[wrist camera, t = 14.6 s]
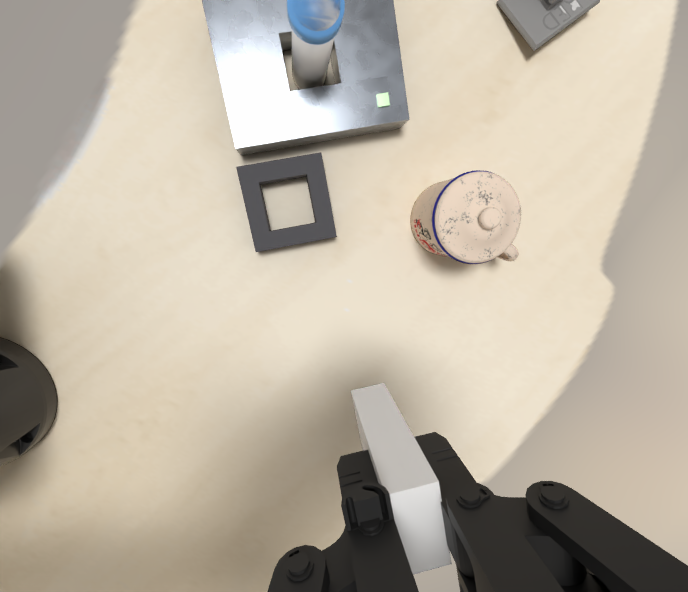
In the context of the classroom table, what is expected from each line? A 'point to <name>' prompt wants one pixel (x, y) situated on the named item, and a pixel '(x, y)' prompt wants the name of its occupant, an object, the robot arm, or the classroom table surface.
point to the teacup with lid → (468, 218)
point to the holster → (282, 171)
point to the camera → (543, 17)
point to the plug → (313, 38)
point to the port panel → (312, 103)
